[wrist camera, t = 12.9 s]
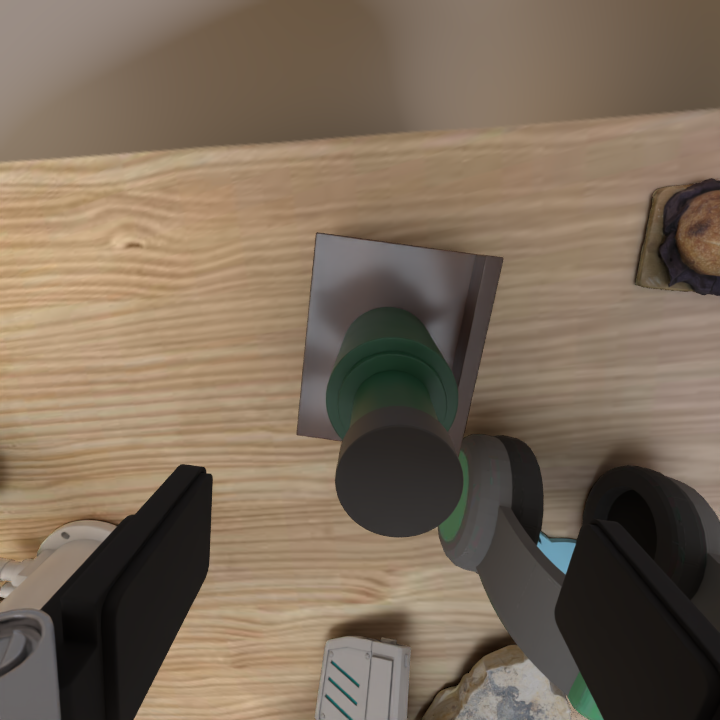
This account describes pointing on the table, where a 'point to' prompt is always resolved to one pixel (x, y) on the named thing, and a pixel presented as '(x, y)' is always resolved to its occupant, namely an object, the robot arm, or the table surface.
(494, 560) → the headphones
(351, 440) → the bottle
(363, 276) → the box
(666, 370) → the table surface
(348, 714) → the futuristic handgun
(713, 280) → the bread roll
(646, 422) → the table surface
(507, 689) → the stone
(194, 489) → the robot arm
